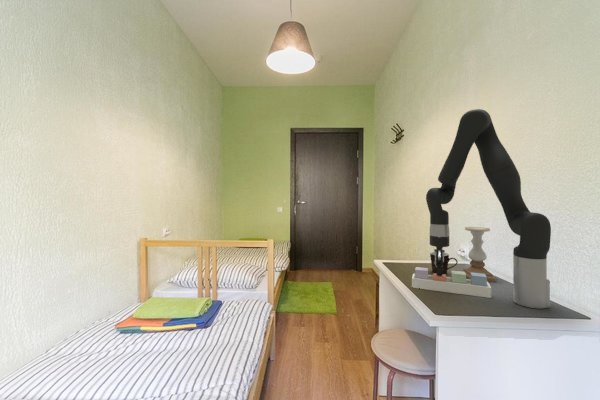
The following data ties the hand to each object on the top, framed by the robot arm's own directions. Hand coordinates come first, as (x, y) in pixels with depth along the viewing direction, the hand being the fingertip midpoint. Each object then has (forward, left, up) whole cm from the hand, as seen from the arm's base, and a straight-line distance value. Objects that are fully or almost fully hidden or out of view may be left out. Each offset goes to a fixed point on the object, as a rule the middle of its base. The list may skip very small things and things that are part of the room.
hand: (439, 275), depth 116 cm
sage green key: (-7, +2, -3) cm, 7 cm away
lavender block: (+7, -2, -3) cm, 7 cm away
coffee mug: (-9, -22, -6) cm, 24 cm away
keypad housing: (-3, +1, -6) cm, 7 cm away
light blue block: (-13, +4, -3) cm, 14 cm away
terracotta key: (0, 0, -5) cm, 5 cm away
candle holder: (-23, -17, -6) cm, 29 cm away
